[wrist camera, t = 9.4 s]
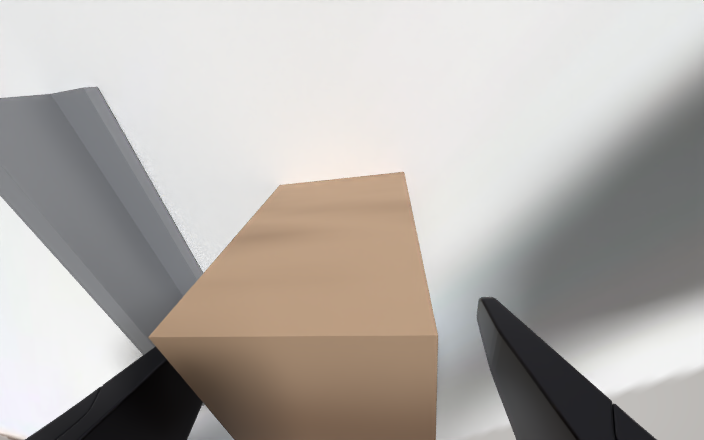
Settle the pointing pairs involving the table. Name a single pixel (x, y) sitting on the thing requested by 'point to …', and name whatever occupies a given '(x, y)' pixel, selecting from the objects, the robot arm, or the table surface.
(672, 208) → the table surface
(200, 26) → the table surface
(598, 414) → the robot arm
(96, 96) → the rail
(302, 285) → the tea box
